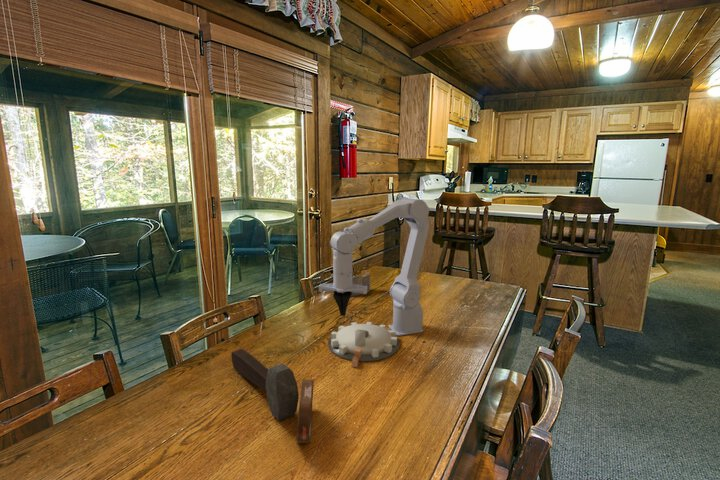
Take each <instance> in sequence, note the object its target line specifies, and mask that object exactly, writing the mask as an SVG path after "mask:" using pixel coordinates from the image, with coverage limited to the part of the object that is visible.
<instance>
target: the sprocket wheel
mask: <svg viewBox="0 0 720 480" xmlns="http://www.w3.org/2000/svg"><path fill="white" fill-rule="evenodd" d="M372 323H373V322H372V321H366V323H357V322H355V321H354V322H351V323H350V325H347V326H346V325H345V326H344V325H339V326H338V330H337V331H332V332H331V334H330V337H331V346H332V348H334V347H339V353H340V354H345V353H350V354H355V356H358V357H361V355H372V357H373V358H375V357H378V354H379V353H381V352H387V353H390V352H392V345H393V346H396V345H397V338H398V337H397V336H396V334H395V331H394V330H391V329H389V330H388V329H387V328H386V327H387V325H385V324H380V325H377V324H372ZM395 336H396V337H395Z"/></svg>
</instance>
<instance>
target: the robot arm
mask: <svg viewBox="0 0 720 480" xmlns="http://www.w3.org/2000/svg"><path fill="white" fill-rule="evenodd" d="M429 213H430V207H429V206H428V204H427V202H426V201H425V200H423V199H420V198H419V199H415V198H410V197H409V198H408V197H406V196H405V197H404V196H403V197H400V198H399V199H398V200H395V201H393V202H392V203H391V204H390V205H388V206H387V207H386V208H384V209H383V210H381V211H380V212H378V213H377V214H376V215H374V216H372V217H370V218H369V219H367V218H358V219H357V220H356V222H355V223H354V224H352V225H350V226H348V227H346V226H345V227H344V228H343V231H336V232H334V233H333V234H332V236H331V238H330V240H329V245H330V247H331V248H332V252H333V253H332V254H333V255H332V261H333V263H332V266H333V267H332V269H333V271H332V273H333V279H332V280H333V283H320V284H319V285H318V292H319V293H323V292H330V293H331V292H333V294H332V295H333V299H334V301H335V302H336V305H337V307H338V310H339V316H343V317H345V316H346V315H347V310H348V305H349V303H350V302H349V301H350V299H351V298H352V297H351V295H352V293H362V294H363V295H367V293H368V292H367V286H361V285H356V284H352V278H353V252H354V250H355V249H356V247H357V246H358V245H359V244H361V243H362V242H364V241H365V240H367V239H369V238H370V237H372V236H373V235H374V234H375V231H376V229H378V228H380V227H381V226H383V225H385V224H387V223H388V222H391V221H392V220H395V219H396V218H397V219H398V218H401V219H404V220H405V221H406V223H407V224H408V226H409V228H410V231H409V237H408V239H407V245H406V249H405V253H404V257H403V262H402V266H401V270H400V273H399V275H397V276H396V277H395V279H394V282H393V283H392V285H391V286H390V288H389V296H390V297H391V298H392V302H393V305H392V307H393V308H392V309H393V310H392V324H388V326H387V327H388V328H389V330H394V331H395V336H396V337H397V336H400V337H401V336H406V335H412V334H419V333H424V329H423V322H424V321H423V316H424V311H423V307H422V305H421V304H420V303H419V302H420V299H421V295H420V294H421V293H420V290H421V285H420V284H419V281H418V279H417V278H418V274H419V271H420V266H421V262H422V258H423V253H424V249H425V245H426V241H427V236H428V233H429V229H430V222H429V221H430V220H429Z"/></svg>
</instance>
